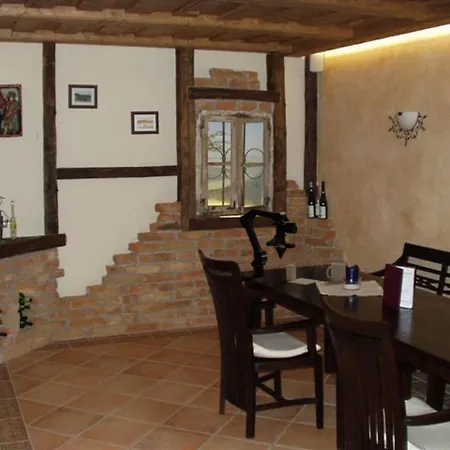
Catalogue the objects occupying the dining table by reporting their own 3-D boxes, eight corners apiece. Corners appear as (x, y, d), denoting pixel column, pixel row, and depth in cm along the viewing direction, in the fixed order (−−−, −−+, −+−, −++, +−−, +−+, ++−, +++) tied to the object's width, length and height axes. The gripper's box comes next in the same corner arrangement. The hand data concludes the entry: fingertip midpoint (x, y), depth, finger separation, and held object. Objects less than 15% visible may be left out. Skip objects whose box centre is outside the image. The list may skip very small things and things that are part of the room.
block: (286, 280, 422) (286, 265, 421) (290, 279, 425) (290, 264, 424) (291, 280, 419) (291, 265, 418) (296, 279, 422) (295, 264, 421)
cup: (348, 281, 416) (348, 264, 415) (330, 282, 411) (330, 265, 410) (340, 278, 423) (340, 262, 422) (323, 280, 419) (323, 263, 418)
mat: (286, 282, 416) (286, 281, 416) (301, 278, 426) (301, 278, 426) (305, 284, 406) (305, 284, 406) (320, 281, 416) (320, 280, 416)
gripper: (259, 233, 425) (260, 258, 427) (284, 235, 412) (284, 262, 414) (271, 231, 433) (271, 256, 435) (296, 233, 421) (296, 259, 422)
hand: (280, 258), depth 426 cm, fingers closed
